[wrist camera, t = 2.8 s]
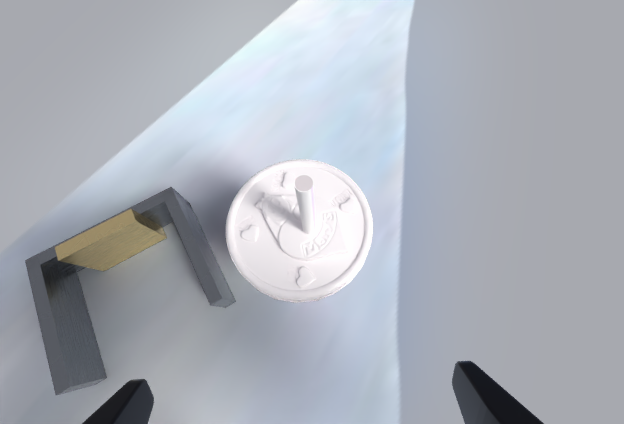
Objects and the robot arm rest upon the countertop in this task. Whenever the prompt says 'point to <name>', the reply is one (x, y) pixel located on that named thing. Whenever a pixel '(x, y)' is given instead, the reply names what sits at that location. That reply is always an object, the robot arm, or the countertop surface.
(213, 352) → the countertop surface
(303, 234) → the smoothie
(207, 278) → the bracket
